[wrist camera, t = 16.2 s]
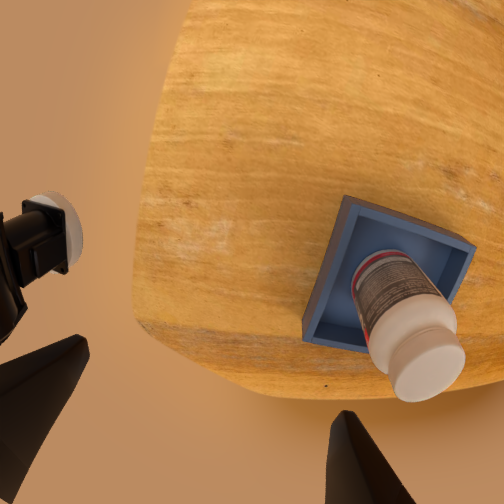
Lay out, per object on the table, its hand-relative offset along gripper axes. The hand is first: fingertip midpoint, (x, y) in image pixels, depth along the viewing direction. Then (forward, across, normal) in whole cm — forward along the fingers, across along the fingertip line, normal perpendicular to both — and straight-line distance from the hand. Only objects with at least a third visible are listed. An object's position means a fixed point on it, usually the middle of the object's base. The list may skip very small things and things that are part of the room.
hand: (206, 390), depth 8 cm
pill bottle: (+13, -10, 0) cm, 16 cm away
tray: (+13, -10, 0) cm, 16 cm away
